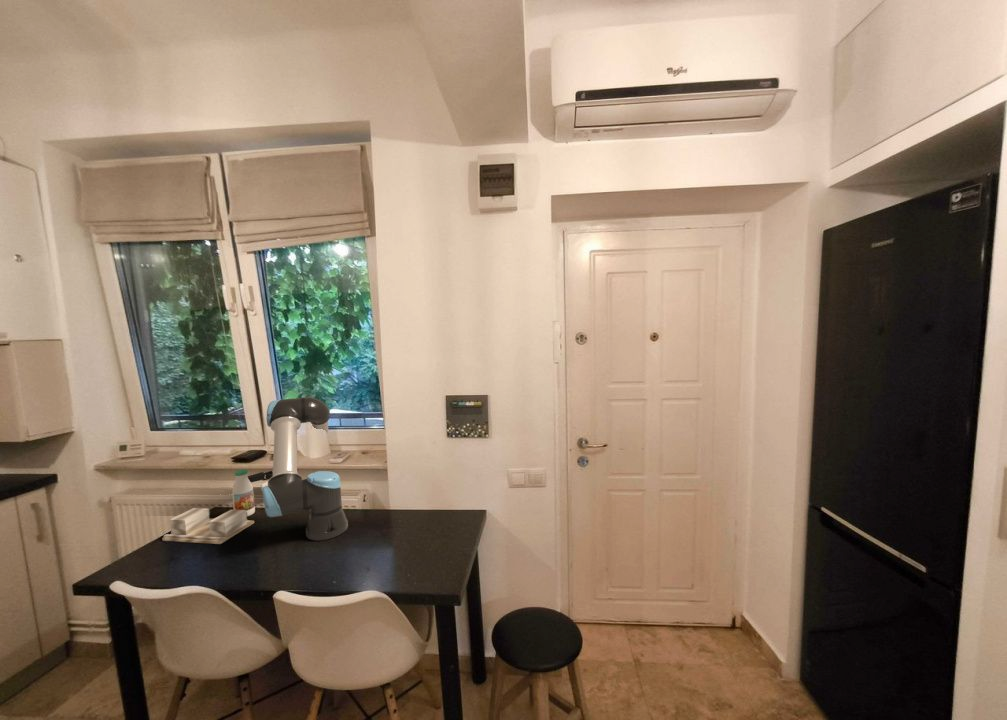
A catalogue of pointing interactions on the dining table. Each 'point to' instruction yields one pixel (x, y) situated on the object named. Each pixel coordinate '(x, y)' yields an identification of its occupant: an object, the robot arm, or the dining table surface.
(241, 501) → the milk bottle
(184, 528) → the rail board
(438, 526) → the dining table surface
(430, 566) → the dining table surface
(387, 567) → the dining table surface
